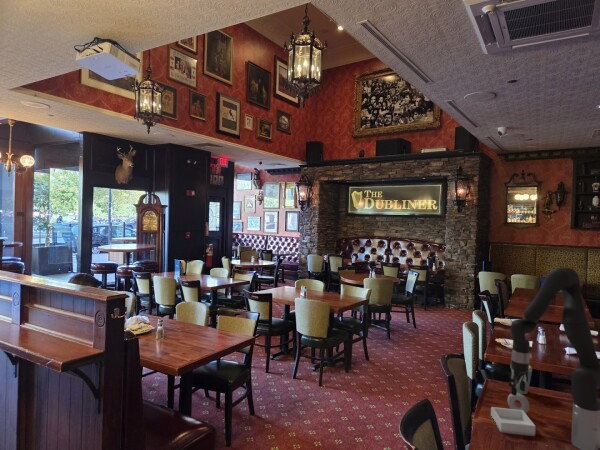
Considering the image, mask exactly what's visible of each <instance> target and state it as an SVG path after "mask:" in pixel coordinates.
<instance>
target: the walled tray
mask: <svg viewBox="0 0 600 450" xmlns="http://www.w3.org/2000/svg"><path fill="white" fill-rule="evenodd" d="M490 407H491V408H490V417H491V416H492V417H491V419H492V418H493V419H494V421H495V422H496V424H495V425H497V426H496V427H497V428H498V430H499V432H500V433H503V434H511V435H522V436H531V437H535V436H536V425H535V424H534V422H533V421H532V419H530V417H529V416H528V415H527V413H525V412H524V411H523V410H516V409H511V408H504V407H495V406H490ZM493 419H492V420H493ZM494 421H493V422H494ZM495 422H494V423H495Z"/></svg>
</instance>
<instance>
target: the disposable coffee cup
mask: <svg viewBox="0 0 600 450" xmlns="http://www.w3.org/2000/svg"><path fill="white" fill-rule="evenodd" d="M509 368H510V369H511V371H510V372H511V374H513V373H514V370H513V369H512V368H511V365H510V367H509ZM532 372H533V367H532V366H531V365H530V364H529V374H528V382H527V381H526V384H525V391H521V390H520V384H518V386H517V393H520V394H522V395H527V394H528V392H529V387H530V385H531V384H530V383H531V379H532V378H531V377H532Z"/></svg>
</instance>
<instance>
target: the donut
mask: <svg viewBox="0 0 600 450" xmlns="http://www.w3.org/2000/svg"><path fill="white" fill-rule="evenodd" d="M516 401H519V402H520V405H521V406H519V405H517V404H516ZM507 404H508V407H509V409H516V410H523V411H524V412H525V414H527V413H528V412H529V411H530V402H529V401H528V398H527V397H525V395H524V394H521V393H517V395H516V396H515V395H512V394H511V393H509V395H508V396H507Z"/></svg>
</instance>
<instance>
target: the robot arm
mask: <svg viewBox="0 0 600 450" xmlns="http://www.w3.org/2000/svg"><path fill="white" fill-rule="evenodd" d="M560 291H561V293H562V296H563V308H562V315H561V319H562V321H561V322H562V326H563V331H564V333H565V336H566V338H567V340H568V341H569V343H570V345H571V346H572V347H573V349H574V350H575V352H576V355H577V358H578V362H579V368H577V369H575V370H574V371H573V372H572V374H571V380H570V381H571V385H570V386H571V387H570V388H571V398H572V399H573V401H572V415H571V416H572V418H571V420H572V421H571V422H572V423H571V437H570V438H571V439H570V442H572V443H571V445H573V446H574V447H575V448H577V449H579V450H598V449H599V448H600V400H599V399H597V397H598V396H597V395H598V394H597V390H600V360H599V358H598V354H597V352H596V347H595V344H594V340H593V335H592V332H591V331H592V330H591V328H590V323H589V320H588V317H587V313H586V309H585V305H584V301H583V297H582V290H581V282H580V277H579V274H578V273H577V271H576V270H575V269H573V268H572V267H567V266H566V267H565V266H563V267H556V268H553V269H551V271H549V273H548V274H547V276H546V277H545V280H544V282H543V284H542V285H541V287H540V288H539V291H538V292H537V293H536V294H535V297H534V298H533V299H532V301H530V302H529V304H528V305H527V307H526V308H525V310H524V311H523V318H519V319H514V320H513V321H512V322H511V324H510V332H511V338H512V339H511V340H512V352H511V357H510V358H511V360H510V366H511V368H512V369H513V370H514V373H513V374H512V373H509V381H508V386H509V387H510V388H511V390H510V392H511V393H510V394H512V395H515V396H516V395H517V386H518V384H520V390H521V391H525V384H526V381H527V382H528V374H529V365H530V344H531V343H530V340H529V339H527V338H526V334H530V333H533V331H534V330H535V329H536V327H537V325H538V324H539V320H541V319H542V317H543V316H544V315H545V314H546V312H547V311H548V309H549V307H550V305H551V302H552V300H553V298H554V297H555V296H556V295H557V294H558V293H559V292H560ZM511 368H510V369H511ZM599 450H600V449H599Z"/></svg>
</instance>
